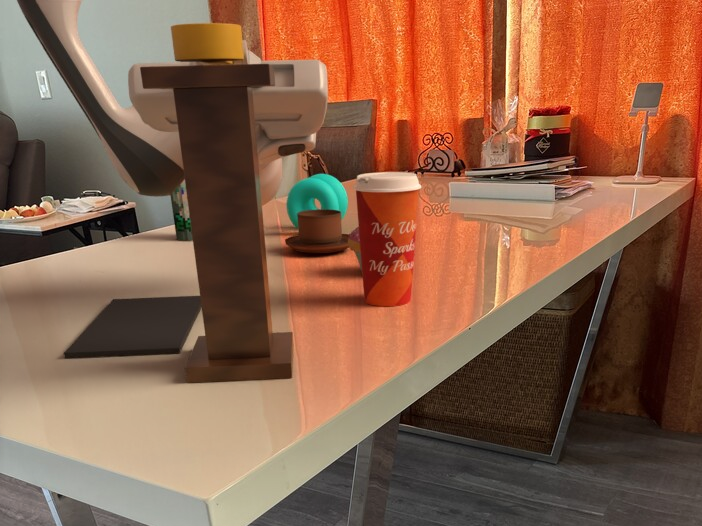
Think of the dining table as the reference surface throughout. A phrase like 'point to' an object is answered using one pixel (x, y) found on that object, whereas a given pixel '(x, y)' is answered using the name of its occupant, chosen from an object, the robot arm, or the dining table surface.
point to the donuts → (316, 196)
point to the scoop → (207, 43)
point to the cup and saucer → (319, 232)
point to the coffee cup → (387, 235)
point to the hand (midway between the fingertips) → (220, 47)
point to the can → (181, 213)
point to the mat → (138, 327)
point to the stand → (226, 220)
